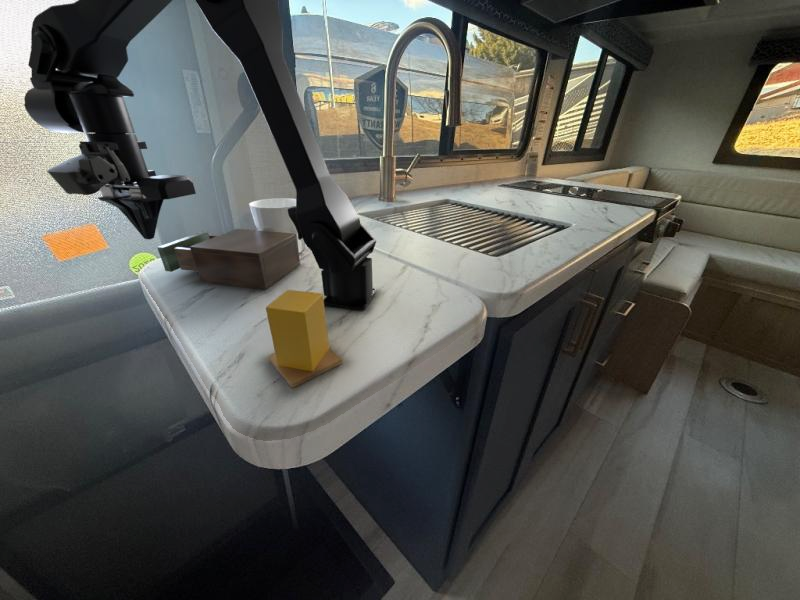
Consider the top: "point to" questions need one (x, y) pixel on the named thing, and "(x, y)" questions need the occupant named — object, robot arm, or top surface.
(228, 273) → the cabinet
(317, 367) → the coaster
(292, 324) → the block
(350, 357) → the top surface
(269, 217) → the cup
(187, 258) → the drawer
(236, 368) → the top surface
